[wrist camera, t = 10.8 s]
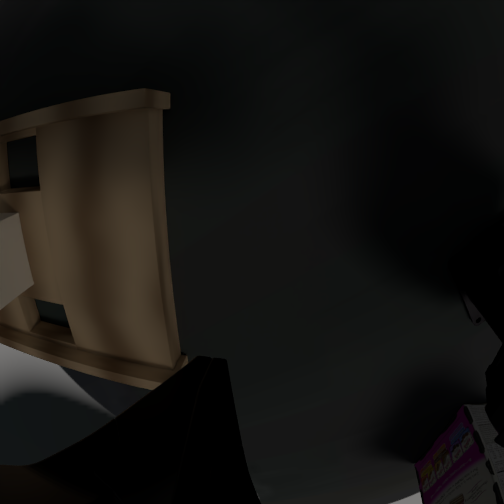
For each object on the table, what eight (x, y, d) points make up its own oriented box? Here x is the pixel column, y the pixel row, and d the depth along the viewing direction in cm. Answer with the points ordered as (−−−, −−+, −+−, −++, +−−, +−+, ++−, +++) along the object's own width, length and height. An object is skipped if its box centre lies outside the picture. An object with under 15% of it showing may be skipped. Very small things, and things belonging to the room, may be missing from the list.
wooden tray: (170, 93, 17) (144, 88, 14) (188, 364, 25) (174, 394, 22) (-37, 139, 20) (-63, 146, 17) (0, 319, 28) (-19, 335, 24)
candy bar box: (446, 461, 27) (468, 572, 12) (412, 464, 28) (429, 584, 13) (497, 399, 23) (547, 526, 8) (463, 401, 23) (509, 545, 8)
